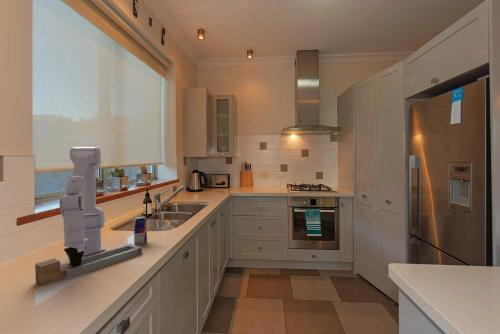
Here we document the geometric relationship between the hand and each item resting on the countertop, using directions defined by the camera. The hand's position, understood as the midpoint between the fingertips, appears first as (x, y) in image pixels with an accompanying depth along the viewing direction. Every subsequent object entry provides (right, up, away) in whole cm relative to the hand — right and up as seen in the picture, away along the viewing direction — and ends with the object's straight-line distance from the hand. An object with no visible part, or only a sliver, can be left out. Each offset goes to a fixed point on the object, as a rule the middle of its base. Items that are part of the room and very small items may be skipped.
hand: (76, 267), depth 88 cm
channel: (+5, -1, +7) cm, 8 cm away
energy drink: (+10, 0, +28) cm, 30 cm away
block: (-3, -1, -5) cm, 6 cm away
